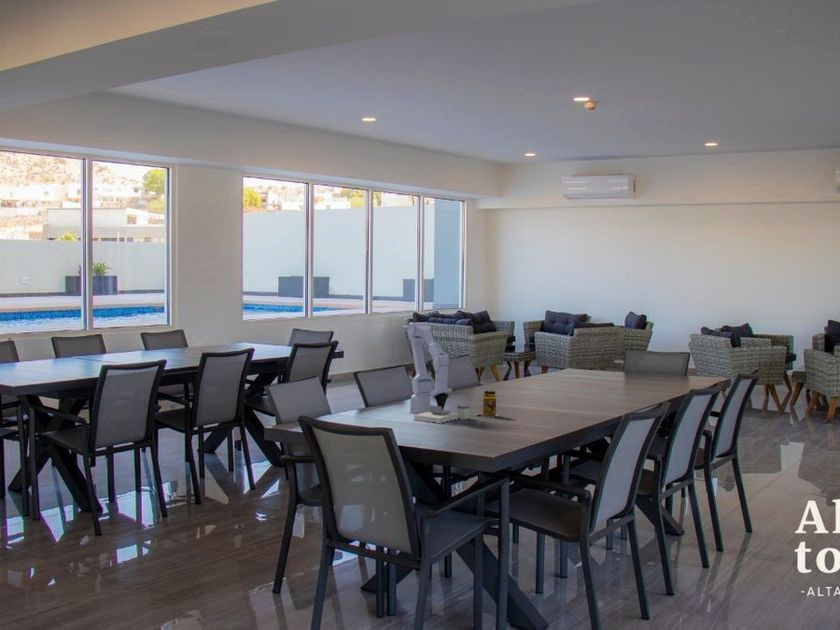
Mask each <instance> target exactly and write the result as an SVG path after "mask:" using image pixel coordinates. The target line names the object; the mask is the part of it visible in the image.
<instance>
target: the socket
mask: <svg viewBox="0 0 840 630" xmlns="http://www.w3.org/2000/svg"><path fill="white" fill-rule="evenodd" d="M413 416H414V417H413V420H414V421H417V420H420V421H419V422H425V421H428V422H427V423H432V422H435V423H434V424H439V423H440V424H443V423H442V422H444V423H447V422H446V421H448V422H451V421H450V420H452V421H455V420H454V419H456V420H459V419H458V418H459V414H457V412H450V413H446V414H435V413H431V412H425V413H421V414H416V413H415V414H414V415H413Z"/></svg>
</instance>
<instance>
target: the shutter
mask: <svg viewBox="0 0 840 630" xmlns="http://www.w3.org/2000/svg"><path fill="white" fill-rule="evenodd" d="M430 412H431V413H435V414H446V413H451V411H450V410H442V407H441V406H438V405H432V404H431V405H430Z"/></svg>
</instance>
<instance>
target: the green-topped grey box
mask: <svg viewBox="0 0 840 630" xmlns="http://www.w3.org/2000/svg"><path fill="white" fill-rule="evenodd" d="M456 407H457V408H456V413H457V414H459V418H460V419H459V420H463V419H465V420H468V419H467V418H469V419H470V405H468V404H467V405H465V404H460V405H457V406H456Z"/></svg>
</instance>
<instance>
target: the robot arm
mask: <svg viewBox="0 0 840 630" xmlns="http://www.w3.org/2000/svg"><path fill="white" fill-rule="evenodd" d="M407 326H408V327H407V335H408V340H409V341H410V345H411V350H412V355H413V356H412V357H413V363H414V369H415V375H416V376H415V377H413V379H412V380H411V381H412V382H411V383H412V385H411V389H412V393H413V394H412V395H411V397H410V408H409V409H410V411H409V413H410V414H415V415H416V414H421V413H425V412H430V405H432V402H431V401H432V400H431V399H432V396H433V397H434V399H435V401H436V404H437V405H436V406H441V407H442V410H444V409H445V405H446V402H447V400H448V398H449V393H452V392H453V390H452V389H453V388H451V387H448V378H449V377H448V375H449V374H448V372H449V371H448V369H449V367H450V365H451V357H450V355H449V354H447V353H446V352H444V350H443V349H442V347H441V346H440V344H439V343H438V342H436V341H435V339H434V337H433V334H432V333H431V330H432V327H431V324H430V323H429V322H428V321H425V322H423V321H422V322H413V321H412V322H410V323H409V324H408V325H407ZM424 341H425V343H426V344H427V346H428V348H427V349H428V352H429V353H430V356H431V358H432V364H433V368H434V369H433V370H434V371H435V372H434V373H435V375H434V377H435V378H434V379H435V380H433V377H432V376H431V375H429V374H428V372H427V366H426V359H425V353H424V347H423V342H424ZM434 382H435V383H434Z"/></svg>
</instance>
